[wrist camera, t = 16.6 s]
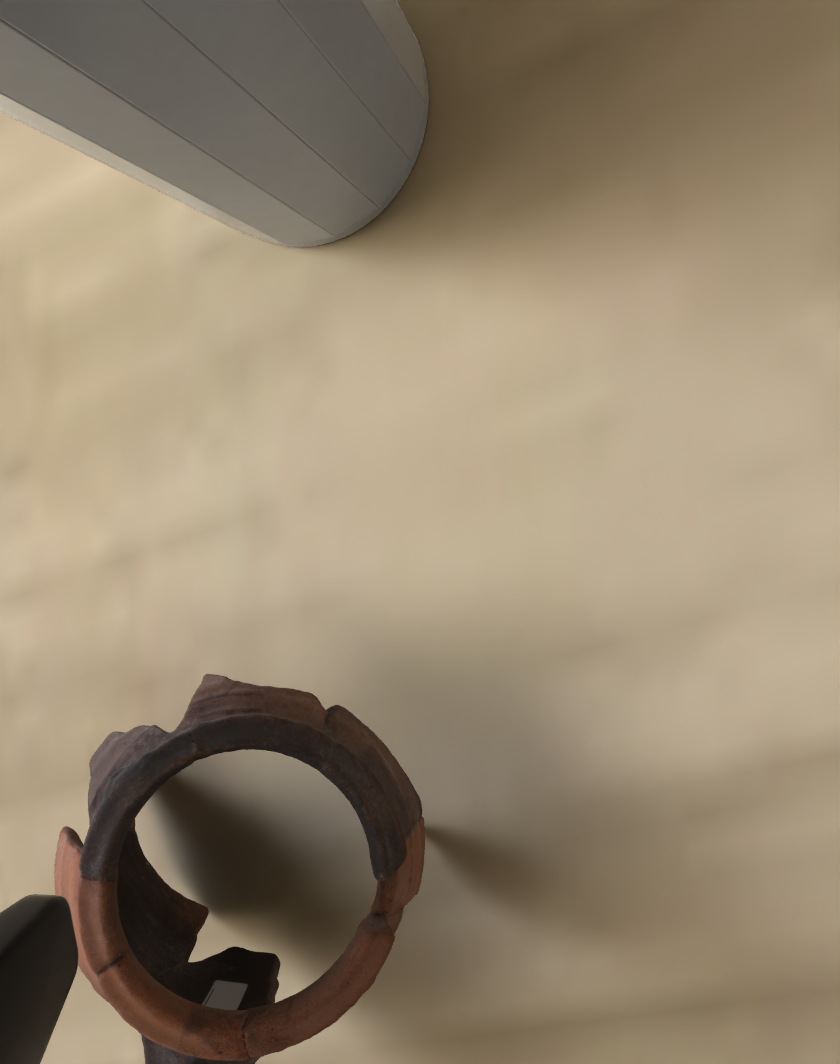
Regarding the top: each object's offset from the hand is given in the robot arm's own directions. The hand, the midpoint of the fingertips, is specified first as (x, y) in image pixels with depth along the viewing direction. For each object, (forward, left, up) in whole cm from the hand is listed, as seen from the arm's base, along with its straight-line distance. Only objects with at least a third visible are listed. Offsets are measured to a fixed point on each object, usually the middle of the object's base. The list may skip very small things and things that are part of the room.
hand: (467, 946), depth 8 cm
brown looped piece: (+6, +9, -12) cm, 16 cm away
